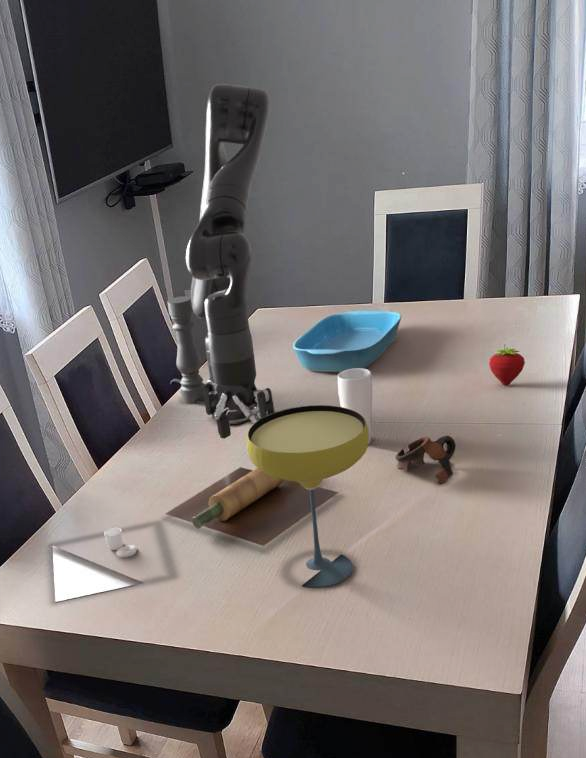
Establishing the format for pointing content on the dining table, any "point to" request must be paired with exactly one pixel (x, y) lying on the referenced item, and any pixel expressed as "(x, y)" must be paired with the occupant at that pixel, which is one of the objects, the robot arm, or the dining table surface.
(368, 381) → the drinking glass
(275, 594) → the dining table surface
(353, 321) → the casserole dish
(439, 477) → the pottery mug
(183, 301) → the candle holder
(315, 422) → the cocktail glass
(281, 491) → the pastry board
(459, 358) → the dining table surface
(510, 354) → the strawberry
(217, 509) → the rolling pin
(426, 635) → the dining table surface
